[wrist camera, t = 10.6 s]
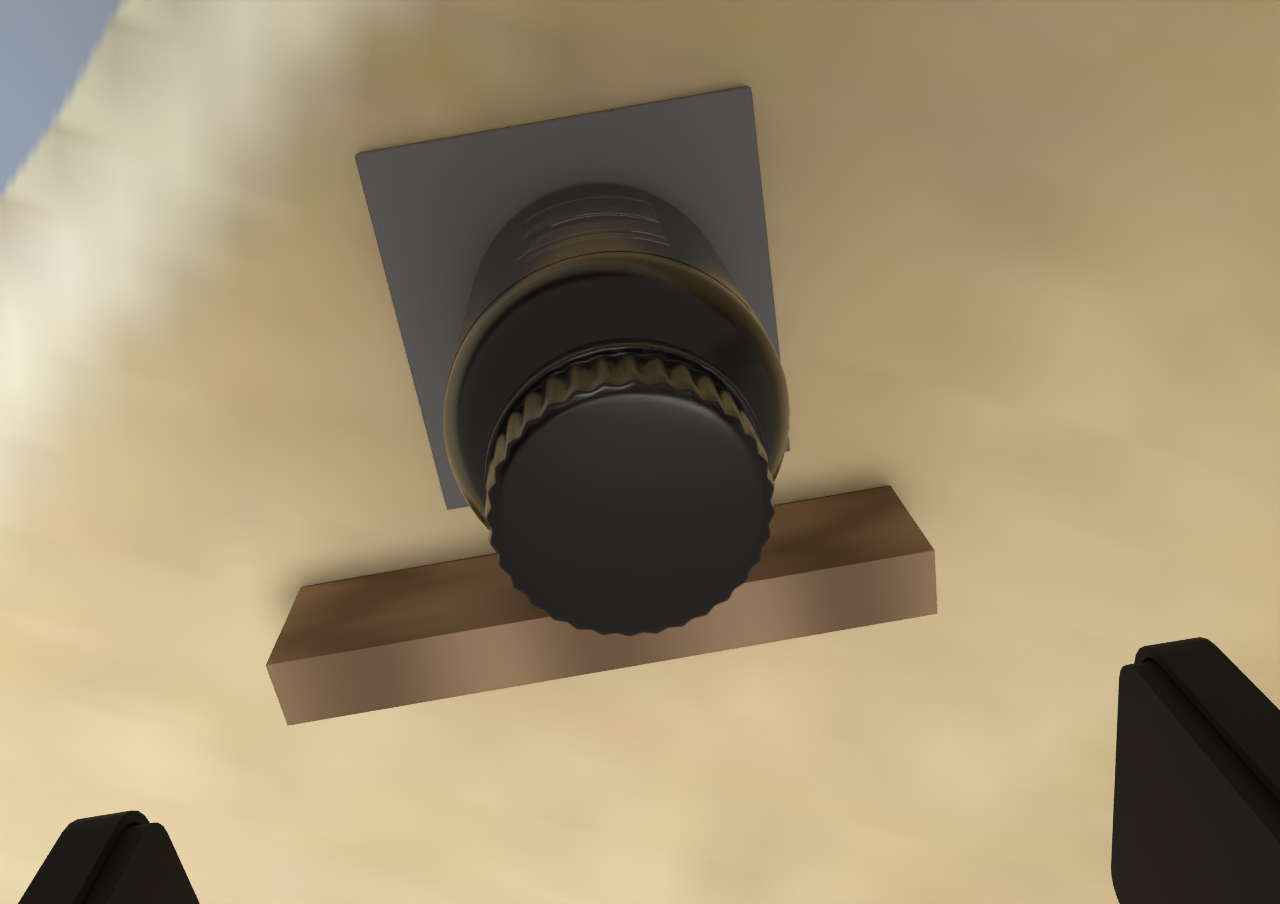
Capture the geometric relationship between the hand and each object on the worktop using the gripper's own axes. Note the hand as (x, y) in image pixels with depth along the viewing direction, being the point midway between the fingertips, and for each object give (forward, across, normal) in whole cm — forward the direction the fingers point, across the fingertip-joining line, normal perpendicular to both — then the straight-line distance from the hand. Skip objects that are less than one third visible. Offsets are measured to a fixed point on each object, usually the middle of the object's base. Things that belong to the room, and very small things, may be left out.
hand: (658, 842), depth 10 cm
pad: (+20, +1, 0) cm, 20 cm away
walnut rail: (+20, +2, +8) cm, 21 cm away
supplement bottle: (+19, 0, 0) cm, 19 cm away
